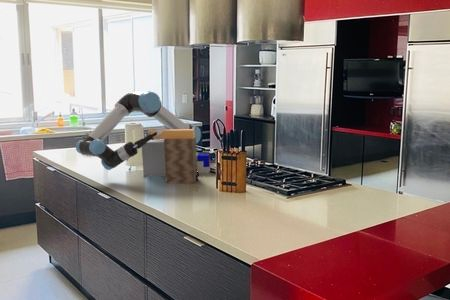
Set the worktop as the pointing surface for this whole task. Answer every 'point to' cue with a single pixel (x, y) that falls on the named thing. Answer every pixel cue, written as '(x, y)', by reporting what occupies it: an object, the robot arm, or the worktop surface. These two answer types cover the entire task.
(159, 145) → the plinth
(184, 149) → the walnut stand
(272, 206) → the worktop surface
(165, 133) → the orange bar
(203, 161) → the puzzle toy
